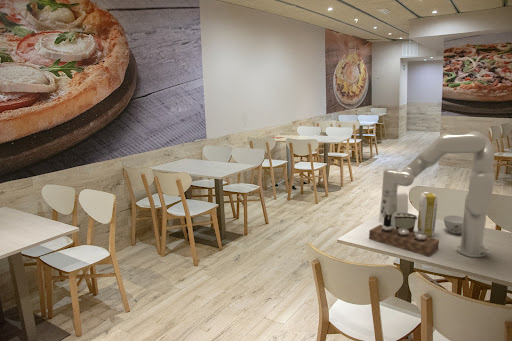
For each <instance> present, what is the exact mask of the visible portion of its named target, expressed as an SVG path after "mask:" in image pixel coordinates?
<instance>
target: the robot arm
mask: <svg viewBox="0 0 512 341" xmlns="http://www.w3.org/2000/svg"><path fill="white" fill-rule="evenodd" d="M472 153H473V158H472V166H471V170H470V175H469V186H468V192H467V194H466V196H465V198H464V199H465V200H464V209H463V211H464V212H463V217H464V219H463V227H462V232H461V236H460V244H459V245H458V246H457V247H456V252H457V253H459V254H460V255H463V256H465V257H469V258H482V257H485V256H486V255H489V256H491V255H492V254H493V252H492V250H491V249H490V248H486V247H485V244H484V236H485V229H486V222H487V212H488V211H489V210H490V206H491V203H492V202H491V201H492V197H493V196H492V195H493V191H494V178H493V169H494V161H495V149H494V146H493V144H492V141H491V140H490V139H489V137H487V136H486V135H485V134H484V133H481V132H479V131H475V130H472V131H469V132H468V133H466V134H452V133H450V132H445V133H441V135H439V136H438V137H437V138H436V139H435V140H434V141H433V142H431V143H430V144H429V145H428V146H427V147H426V148H425V149H423V150H422V152H420V153H419V154H418V155H417V156H416V157H415V158H414V159H413V160H412V161H410V162H409V163H408V164H407V165H406V166H405V167H403V169H402V170H401V171H399V170H397V169H396V168H386V169H384V170H383V175H382V177H383V178H382V189H381V199H382V202H381V201H380V207H381V214H382V217H384V225H385V226H391V219H390V218H392V214H393V213H395V212H396V211H397V189H398V185H402V186H403V187H409V186H411V185H412V184H413V183H414V180H415V179H416V178H417V177H418V176H419V175H420V174H421V173H423V172H424V171H425V170H427V169H428V168H431V167H433V166H435V165H436V164H437V163H438V162H439V161H441V159H443V158H444V157H445V156H447V154H472ZM382 195H383V196H382Z"/></svg>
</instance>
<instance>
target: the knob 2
mask: <svg viewBox="0 0 512 341" xmlns="http://www.w3.org/2000/svg"><path fill="white" fill-rule="evenodd" d="M398 235H399V236H402V237H407V236H408V235H409V230H408V229H406V228H399V229H398Z"/></svg>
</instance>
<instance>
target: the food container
mask: <svg viewBox="0 0 512 341" xmlns="http://www.w3.org/2000/svg"><path fill="white" fill-rule="evenodd" d="M394 219H395V227H394V228H396V229H399V228H406V229H408V230H409V232H411V233H414V231H415V226H416V222H417V221H418V216H417V215H416V214H413V213H409V212H408V213H397V214H395V216H394Z"/></svg>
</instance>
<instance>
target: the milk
mask: <svg viewBox="0 0 512 341" xmlns="http://www.w3.org/2000/svg"><path fill="white" fill-rule="evenodd" d="M382 196H383V195H382V194H381V197H382ZM381 202H382V198H381V200H380V203H381ZM397 213H409V194H408V192H407V190H406V189H405V186H402V185H398V189H397V211H396V212H395V213H393V214H392V218H390V219H391V225H392V228H396V227H395V219H394V216H395V214H397ZM378 221H379V222H380V223H382V225H383V224H384V217H382V214H381V206H380V208H379V217H378Z"/></svg>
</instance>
